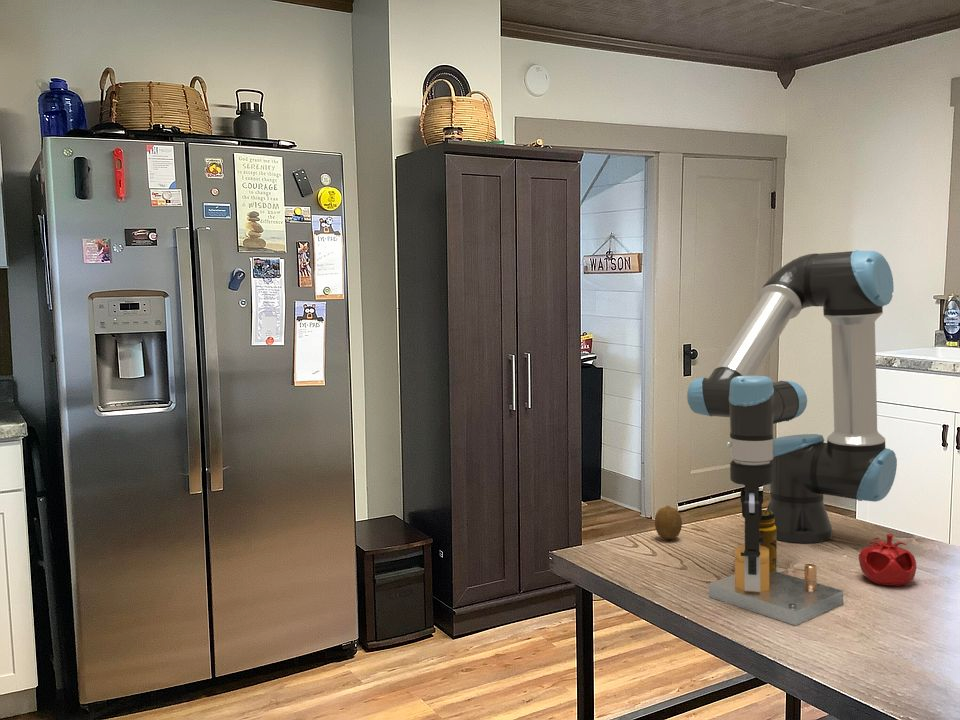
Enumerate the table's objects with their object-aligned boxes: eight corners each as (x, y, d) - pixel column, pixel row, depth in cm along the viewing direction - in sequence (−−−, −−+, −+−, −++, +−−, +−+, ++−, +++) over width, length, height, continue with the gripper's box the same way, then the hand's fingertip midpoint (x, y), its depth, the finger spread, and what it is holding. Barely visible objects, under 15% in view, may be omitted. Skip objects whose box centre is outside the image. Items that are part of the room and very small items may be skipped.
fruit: (684, 543, 187) (684, 509, 186) (657, 543, 187) (656, 509, 187) (679, 535, 193) (678, 502, 193) (652, 535, 193) (652, 502, 193)
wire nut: (769, 581, 154) (768, 545, 153) (769, 592, 148) (769, 555, 147) (735, 579, 155) (735, 543, 155) (734, 590, 150) (734, 552, 149)
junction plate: (757, 578, 162) (756, 544, 162) (843, 604, 148) (843, 566, 148) (708, 596, 154) (708, 560, 153) (795, 625, 139) (795, 585, 139)
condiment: (786, 570, 167) (785, 512, 166) (759, 579, 162) (758, 520, 161) (756, 561, 173) (755, 505, 172) (729, 570, 168) (728, 512, 167)
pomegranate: (856, 572, 165) (855, 526, 165) (911, 574, 162) (910, 528, 162) (862, 587, 156) (862, 539, 155) (921, 591, 153) (920, 542, 152)
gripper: (731, 450, 160) (732, 565, 162) (728, 471, 142) (729, 600, 144) (772, 451, 158) (772, 568, 160) (774, 472, 139) (775, 604, 141)
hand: (752, 583), depth 152 cm, fingers open, 6 cm apart
